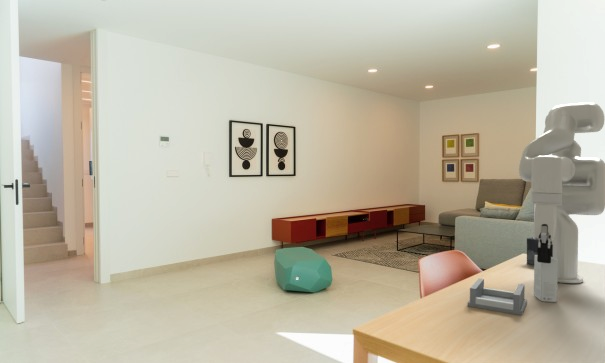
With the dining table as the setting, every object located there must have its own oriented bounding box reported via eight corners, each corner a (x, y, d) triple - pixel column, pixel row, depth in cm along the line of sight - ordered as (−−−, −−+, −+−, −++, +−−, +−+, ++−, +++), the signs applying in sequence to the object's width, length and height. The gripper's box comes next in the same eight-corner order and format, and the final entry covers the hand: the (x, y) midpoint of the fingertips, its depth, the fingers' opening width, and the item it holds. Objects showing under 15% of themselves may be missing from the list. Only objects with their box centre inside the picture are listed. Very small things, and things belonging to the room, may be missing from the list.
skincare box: (557, 302, 113) (558, 259, 113) (540, 301, 114) (541, 258, 113) (549, 296, 119) (549, 255, 119) (533, 295, 120) (533, 254, 119)
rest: (476, 294, 120) (476, 278, 120) (526, 302, 113) (527, 284, 113) (467, 306, 110) (467, 287, 110) (522, 315, 103) (522, 295, 103)
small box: (540, 260, 166) (540, 235, 166) (556, 263, 161) (557, 237, 161) (525, 264, 161) (525, 237, 161) (542, 267, 155) (542, 239, 155)
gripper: (533, 198, 125) (532, 254, 125) (528, 199, 110) (527, 263, 110) (562, 199, 121) (561, 257, 121) (561, 200, 106) (559, 266, 106)
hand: (545, 260), depth 115 cm, fingers open, 9 cm apart
